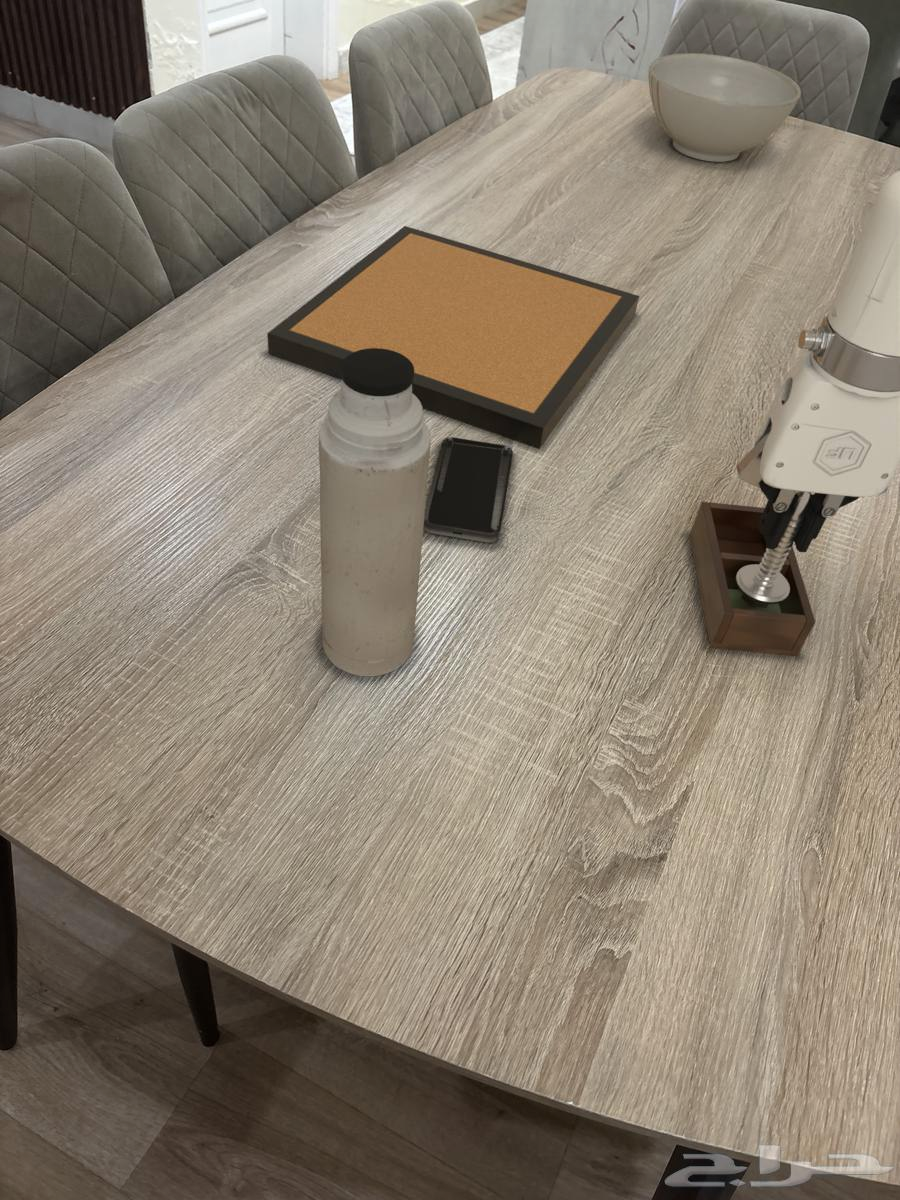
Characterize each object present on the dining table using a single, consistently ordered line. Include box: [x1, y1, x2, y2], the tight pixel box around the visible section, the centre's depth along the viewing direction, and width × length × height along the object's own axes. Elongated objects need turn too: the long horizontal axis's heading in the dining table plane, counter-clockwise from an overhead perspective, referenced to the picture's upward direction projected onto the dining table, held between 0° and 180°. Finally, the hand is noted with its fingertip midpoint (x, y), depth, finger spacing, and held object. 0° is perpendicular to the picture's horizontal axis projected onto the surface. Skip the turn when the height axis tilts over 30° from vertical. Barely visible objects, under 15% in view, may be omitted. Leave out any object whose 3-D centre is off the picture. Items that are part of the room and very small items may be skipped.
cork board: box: [266, 225, 640, 450], centre depth 120 cm, size 36×3×35 cm
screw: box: [735, 491, 812, 608], centre depth 82 cm, size 13×5×5 cm
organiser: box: [689, 501, 816, 657], centre depth 90 cm, size 8×15×5 cm, turn 177°
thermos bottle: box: [318, 348, 432, 677], centre depth 73 cm, size 8×8×28 cm
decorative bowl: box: [648, 52, 802, 163], centre depth 170 cm, size 27×27×12 cm
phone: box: [423, 436, 514, 544], centre depth 98 cm, size 8×1×15 cm
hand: (783, 538), depth 81 cm, fingers closed on screw, 2 cm apart
